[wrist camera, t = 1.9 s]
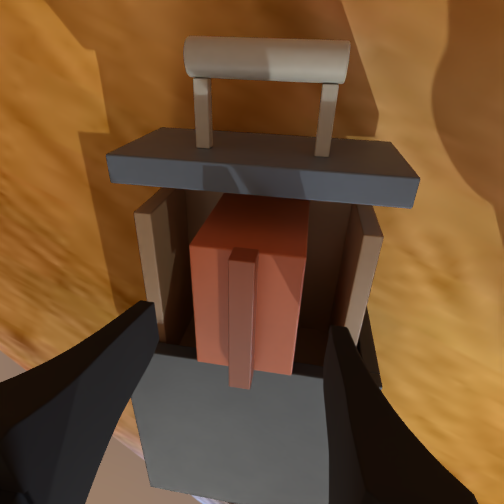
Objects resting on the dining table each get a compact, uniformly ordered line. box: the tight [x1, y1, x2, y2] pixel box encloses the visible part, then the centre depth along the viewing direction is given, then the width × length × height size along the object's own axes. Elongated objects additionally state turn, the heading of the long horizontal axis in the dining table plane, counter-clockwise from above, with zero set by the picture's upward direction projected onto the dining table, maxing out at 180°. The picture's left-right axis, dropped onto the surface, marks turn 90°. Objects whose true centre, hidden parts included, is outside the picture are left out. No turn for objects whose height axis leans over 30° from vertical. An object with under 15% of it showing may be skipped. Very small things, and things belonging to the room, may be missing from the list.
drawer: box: [106, 36, 420, 366], centre depth 18 cm, size 17×12×6 cm
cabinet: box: [131, 306, 382, 504], centre depth 24 cm, size 14×13×8 cm
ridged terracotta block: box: [189, 193, 309, 389], centre depth 17 cm, size 7×5×7 cm
